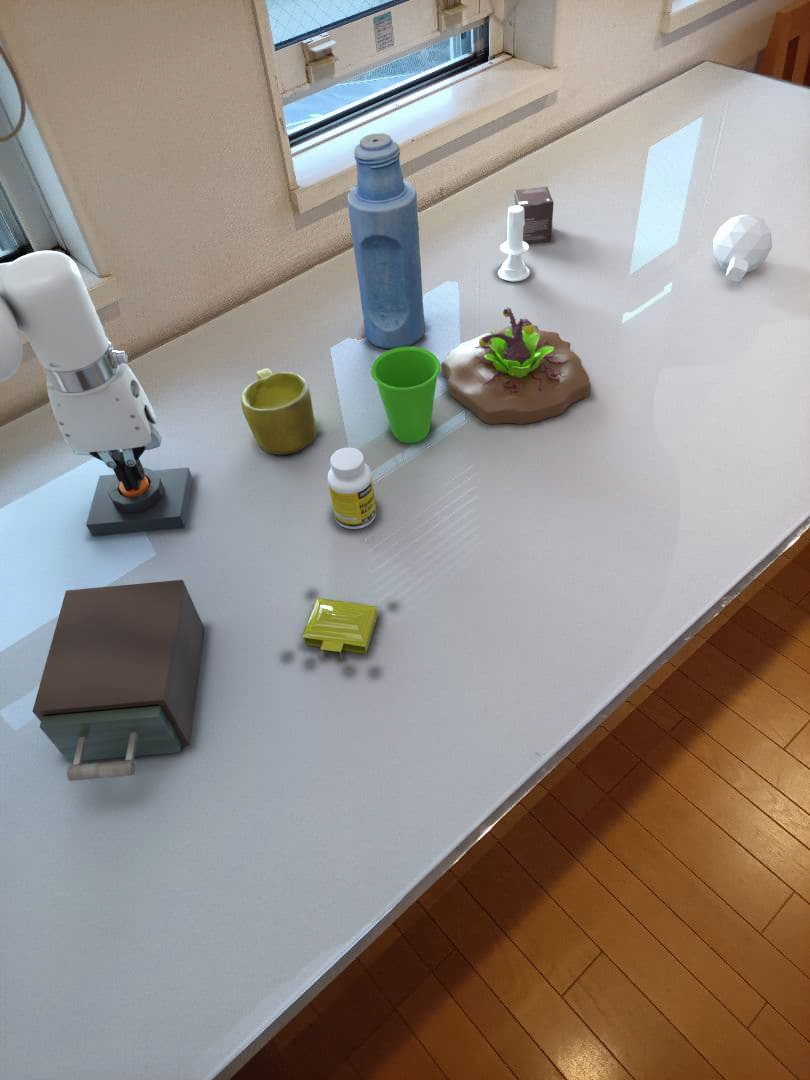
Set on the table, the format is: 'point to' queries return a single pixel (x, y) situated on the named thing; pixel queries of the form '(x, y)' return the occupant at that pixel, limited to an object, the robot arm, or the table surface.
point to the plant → (515, 374)
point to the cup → (407, 390)
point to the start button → (135, 493)
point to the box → (536, 213)
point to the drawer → (110, 738)
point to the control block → (141, 504)
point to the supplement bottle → (351, 489)
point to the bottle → (386, 245)
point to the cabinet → (125, 652)
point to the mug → (279, 412)
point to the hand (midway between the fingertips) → (134, 482)
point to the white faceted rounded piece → (742, 245)
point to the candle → (514, 247)
